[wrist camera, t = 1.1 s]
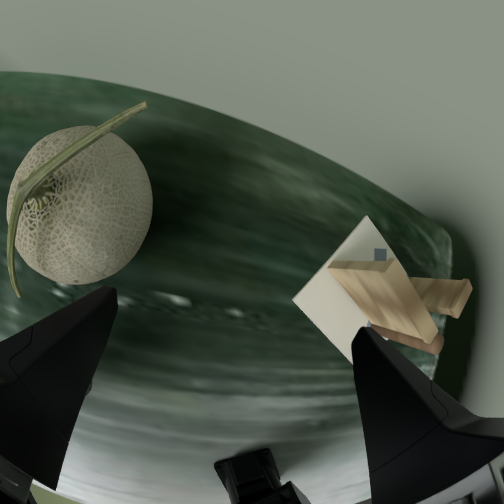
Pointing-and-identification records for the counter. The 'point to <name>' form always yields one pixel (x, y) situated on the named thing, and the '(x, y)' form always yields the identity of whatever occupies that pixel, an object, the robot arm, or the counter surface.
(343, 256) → the card
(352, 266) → the fence panel
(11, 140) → the counter surface
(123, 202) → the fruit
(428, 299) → the wooden plank
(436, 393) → the robot arm
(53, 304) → the counter surface
